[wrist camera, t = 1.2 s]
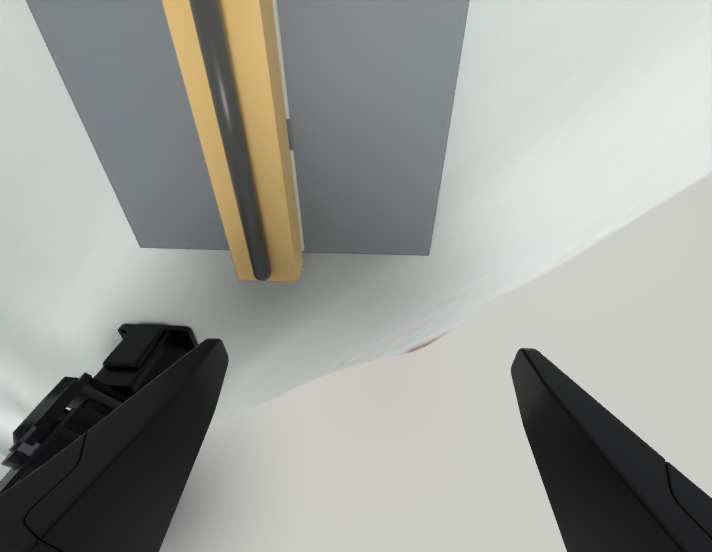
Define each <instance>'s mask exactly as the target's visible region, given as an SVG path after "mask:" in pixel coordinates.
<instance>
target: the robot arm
mask: <svg viewBox="0 0 712 552" xmlns="http://www.w3.org/2000/svg"><path fill="white" fill-rule="evenodd" d="M118 332H119V333H120V335H121V337H122V338H123V340H122V341H121V342H120V344H119V345H118V346H117V347H116V348H115V349H114V350H113V352H112V353H111V354H110V355H109V356H108V357H107V358H106V360H105V361H104V362H103V368H102V369H101V370H100V371H99V372H98V373H97V375H96V376H95V377H94V378H92V376H91V375H89V374H87V373H84V374H83V375H82V376H80V377H79V378H76V377H75V378H73V377H64V378H63V379H62V380H61V381H60V382H59V383H58V384H57V385H56V386H55V387H54V388H53V390H52V391H51V392H50V393H49V394H48V395H47V396H46V397H45V398H44V399H43V400H42V401H41V402H40V403H39V404H38V405H37V407H36V408H35V409H34V410H33V411H32V412H31V413H30V414H29V415H28V416H27V418H26V419H25V420H24V421H23V422H22V423H21V424H20V425H19V426H18V427H17V429H16V430H15V431H14V432H13V442H14V444H13V446H12V447H11V448H10V449H9V451H11V452H10V453H9V454H8V456H7V457H6V458H5V459H4V461H3V462H2V463H1V464H2V465H4V466H7V467H10V468H11V469H10V471H9V472H8V473H7V474H6V475H5V477H4V478H3V479H2V480H1V481H0V552H159V550H160V548H161V545H162V542H163V540H164V537H165V535H166V532H167V530H168V527H169V525H170V522H171V520H172V517H173V515H174V512H175V510H176V507H177V505H178V502H179V500H180V497H181V495H182V492H183V490H184V487H185V485H186V482H187V480H188V477H189V475H190V472H191V470H192V467H193V465H194V462H195V460H196V457H197V455H198V452H199V450H200V447H201V445H202V442H203V440H204V437H205V434H206V432H207V430H208V427H209V425H210V422H211V420H212V417H213V414H214V412H215V409H216V405H217V402H218V398H219V395H220V391H221V388H222V384H223V380H224V377H225V373H226V370H227V366H228V361H229V359H228V354H227V352H226V349H225V347H224V344H223V342H222V340H221V339H211V338H209V339H206V340H204V341H203V342H202V343H200V344H199V345H198V346H197V343H196V341H195V339H194V336H193V334H192V332H191V330H190V329H189V328H187V327H171V326H146V325H121V326H120V327H119V329H118ZM511 375H512V379H513V383H514V387H515V392H516V396H517V401H518V405H519V409H520V414H521V418H522V422H523V426H524V429H525V432H526V435H527V438H528V441H529V444H530V447H531V449H532V452H533V455H534V458H535V461H536V464H537V466H538V469H539V472H540V475H541V478H542V481H543V484H544V487H545V490H546V492H547V495H548V498H549V501H550V504H551V507H552V510H553V512H554V515H555V518H556V521H557V524H558V527H559V530H560V533H561V535H562V538H563V541H564V544H565V547H566V549H567V552H712V498H711V497H709V496H708V495H707V494H706V493H705V492H703V491H702V490H701V489H700V488H699V487H697V486H696V485H695V484H694V483H693V482H691V481H690V480H689V479H688V478H687V477H685V476H684V475H683V474H682V473H681V472H679V471H678V470H677V469H676V468H675V467H674V466H673V465H671V464H670V463H669V462H665V459H664V458H663V457H662V456H660V455H659V454H658V453H657V452H656V451H655V450H654V449H652V448H651V447H650V446H649V445H648V444H647V443H645V442H644V441H643V440H642V439H640V437H638V436H637V435H636V434H635V433H634V432H632V431H631V430H630V429H629V428H628V427H627V426H625V425H624V424H623V423H622V422H621V421H620V420H618V419H617V418H616V417H615V416H614V415H612V414H611V413H610V412H609V411H608V410H606V408H604V407H603V406H602V405H601V404H600V403H598V402H597V401H596V400H595V399H594V398H593V397H591V396H590V395H589V394H588V393H587V392H586V391H584V390H583V389H582V388H581V387H580V386H578V385H577V384H576V383H575V382H574V381H573V380H572V379H570V378H569V377H568V376H567V375H565V374H564V373H563V372H562V371H561V370H560V369H558V368H557V367H556V366H555V365H554V364H553V363H552V362H550V361H549V360H548V359H547V358H546V357H545V356H543V355H542V354H541V353H540V352H539V351H537V350H536V349H531V348H521V349H519V350H518V352H517V354H516V357H515V359H514V362H513V364H512V366H511ZM66 407H68V408H70V409H71V410H70V411H69V410H67V409H66Z"/></svg>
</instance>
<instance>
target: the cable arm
mask: <svg viewBox="0 0 712 552" xmlns="http://www.w3.org/2000/svg"><path fill="white" fill-rule="evenodd" d="M162 3H163V7H164V10H165V14H166V18H167V21H168V25H169V29H170V32H171V36H172V40H173V43H174V47H175V51H176V54H177V58H178V62H179V65H180V69H181V73H182V76H183V80H184V84H185V87H186V91H187V95H188V98H189V102H190V106H191V109H192V113H193V117H194V120H195V124H196V128H197V131H198V135H199V139H200V142H201V146H202V150H203V153H204V157H205V161H206V164H207V168H208V172H209V175H210V179H211V183H212V186H213V190H214V194H215V197H216V201H217V205H218V208H219V212H220V216H221V219H222V223H223V226H224V230H225V234H226V237H227V241H228V245H229V248H230V252H231V256H232V259H233V263H234V267H235V270H236V274H237V278H238V280H246V281H277V282H298V280H299V277H300V274H301V271H302V268H303V258H302V250H301V241H300V233H299V224H298V216H297V208H296V199H295V191H294V182H293V174H292V165H291V157H290V149H289V140H288V132H287V123H286V115H285V106H284V98H283V90H282V81H281V73H280V64H279V56H278V47H277V39H276V31H275V22H274V14H273V5H272V0H162Z"/></svg>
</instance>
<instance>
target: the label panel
mask: <svg viewBox="0 0 712 552" xmlns="http://www.w3.org/2000/svg"><path fill="white" fill-rule="evenodd" d="M26 2H27V4H28V6H29V8H30V11H31V13H32V15H33V17H34V19H35V21H36V23H37V26H38V28H39V30H40V32H41V34H42V36H43V39H44V41H45V43H46V45H47V47H48V49H49V52H50V54H51V56H52V58H53V60H54V62H55V64H56V67H57V69H58V71H59V73H60V75H61V77H62V80H63V82H64V84H65V86H66V88H67V90H68V93H69V95H70V97H71V99H72V101H73V103H74V105H75V108H76V110H77V112H78V114H79V116H80V118H81V121H82V123H83V125H84V127H85V129H86V131H87V133H88V136H89V138H90V140H91V142H92V144H93V146H94V149H95V151H96V153H97V155H98V157H99V159H100V162H101V164H102V166H103V168H104V170H105V172H106V174H107V177H108V179H109V181H110V183H111V185H112V187H113V190H114V192H115V194H116V196H117V198H118V200H119V202H120V205H121V207H122V209H123V211H124V213H125V215H126V218H127V220H128V222H129V224H130V226H131V228H132V231H133V233H134V235H135V237H136V239H137V241H138V243H139V246H140V248H171V249H207V250H230V248H229V245H228V241H227V237H226V234H225V230H224V226H223V223H222V219H221V216H220V212H219V208H218V205H217V201H216V197H215V194H214V190H213V186H212V183H211V179H210V175H209V172H208V168H207V164H206V161H205V157H204V153H203V150H202V146H201V142H200V139H199V135H198V131H197V128H196V124H195V120H194V117H193V113H192V109H191V106H190V102H189V98H188V95H187V91H186V87H185V84H184V80H183V76H182V73H181V69H180V65H179V62H178V58H177V54H176V51H175V47H174V43H173V40H172V36H171V32H170V29H169V25H168V21H167V18H166V14H165V10H164V7H163V3H162V0H26ZM272 5H273V14H274V22H275V31H276V39H277V47H278V56H279V64H280V73H281V81H282V90H283V98H284V106H285V115H286V123H287V132H288V140H289V149H290V157H291V165H292V174H293V182H294V191H295V199H296V208H297V216H298V224H299V233H300V241H301V250H302V252H315V253H350V254H386V255H422V256H429V253H430V247H431V240H432V234H433V228H434V221H435V215H436V209H437V202H438V196H439V190H440V183H441V177H442V171H443V165H444V158H445V152H446V146H447V139H448V133H449V127H450V120H451V114H452V108H453V101H454V95H455V89H456V82H457V76H458V70H459V63H460V57H461V51H462V45H463V38H464V32H465V26H466V19H467V13H468V7H469V0H272Z"/></svg>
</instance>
